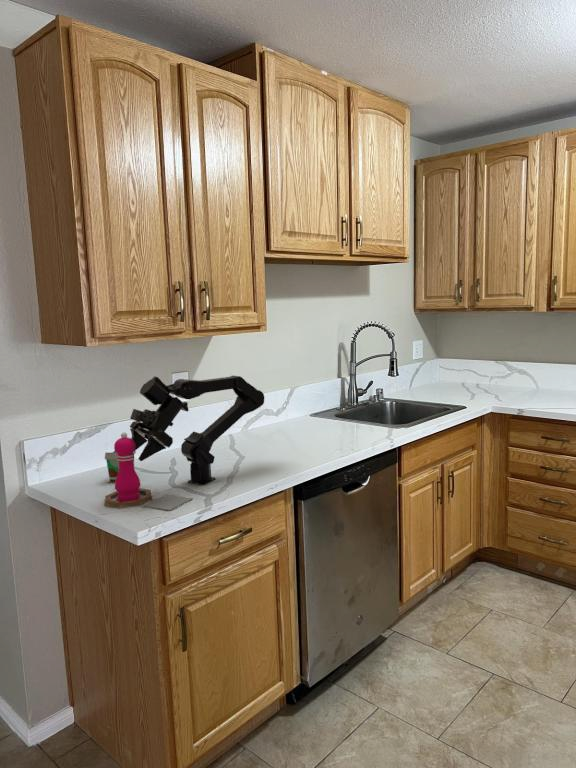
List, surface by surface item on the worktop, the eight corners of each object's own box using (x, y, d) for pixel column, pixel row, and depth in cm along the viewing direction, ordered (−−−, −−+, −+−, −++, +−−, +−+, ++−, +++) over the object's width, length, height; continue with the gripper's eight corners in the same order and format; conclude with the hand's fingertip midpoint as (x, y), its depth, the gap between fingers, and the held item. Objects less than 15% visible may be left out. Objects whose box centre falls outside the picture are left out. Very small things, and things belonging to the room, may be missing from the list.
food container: (122, 484, 189) (120, 454, 187) (107, 483, 191) (104, 452, 190) (145, 473, 200) (143, 444, 199) (130, 472, 202) (127, 443, 201)
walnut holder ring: (127, 490, 183) (127, 486, 183) (160, 495, 177) (160, 491, 176) (95, 504, 172) (95, 500, 171) (129, 510, 165) (129, 505, 165)
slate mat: (165, 495, 176) (165, 494, 176) (192, 499, 172) (192, 498, 171) (142, 506, 168) (142, 505, 168) (170, 511, 163) (170, 509, 163)
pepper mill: (122, 505, 169) (116, 436, 166) (111, 499, 175) (106, 432, 172) (145, 499, 174) (141, 432, 171) (135, 493, 179) (130, 428, 176)
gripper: (133, 394, 182) (101, 436, 177) (159, 401, 167) (125, 447, 162) (159, 416, 188) (128, 457, 183) (186, 424, 173) (154, 469, 168)
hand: (133, 457), depth 174 cm, fingers open, 9 cm apart
